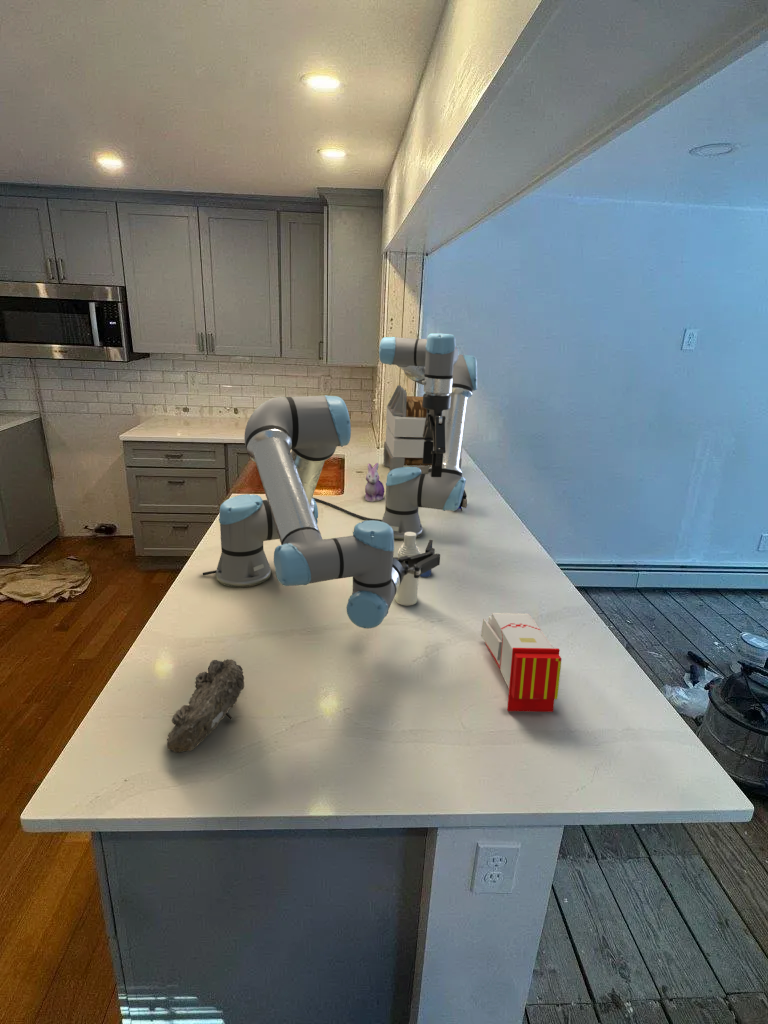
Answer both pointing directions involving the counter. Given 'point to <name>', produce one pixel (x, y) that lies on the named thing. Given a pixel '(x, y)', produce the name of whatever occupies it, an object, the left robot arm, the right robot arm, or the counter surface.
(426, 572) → the cap
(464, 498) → the figurine character
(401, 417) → the grey slatted crate
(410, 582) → the bottle
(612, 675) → the counter surface
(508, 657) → the toy
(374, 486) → the figurine
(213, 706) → the fossil
